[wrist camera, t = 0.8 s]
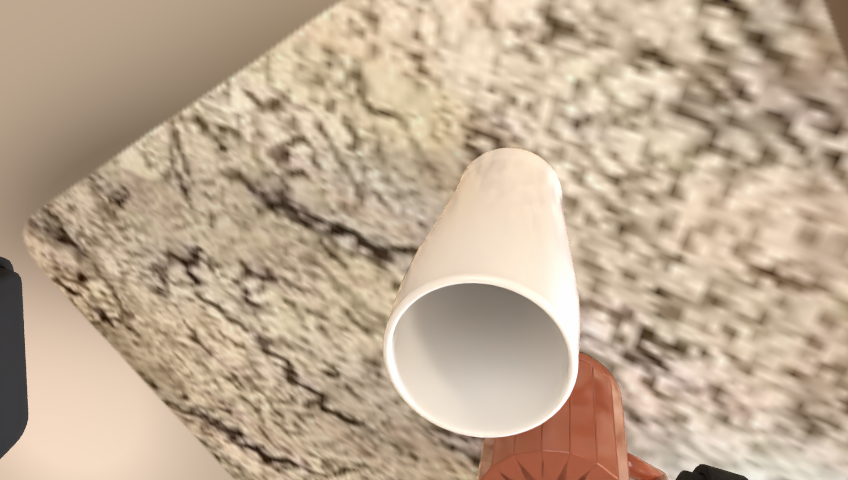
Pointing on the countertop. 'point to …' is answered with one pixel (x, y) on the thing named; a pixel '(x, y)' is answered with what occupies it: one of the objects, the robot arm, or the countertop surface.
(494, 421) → the white cup
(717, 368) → the countertop surface
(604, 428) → the terracotta hollow cylinder
